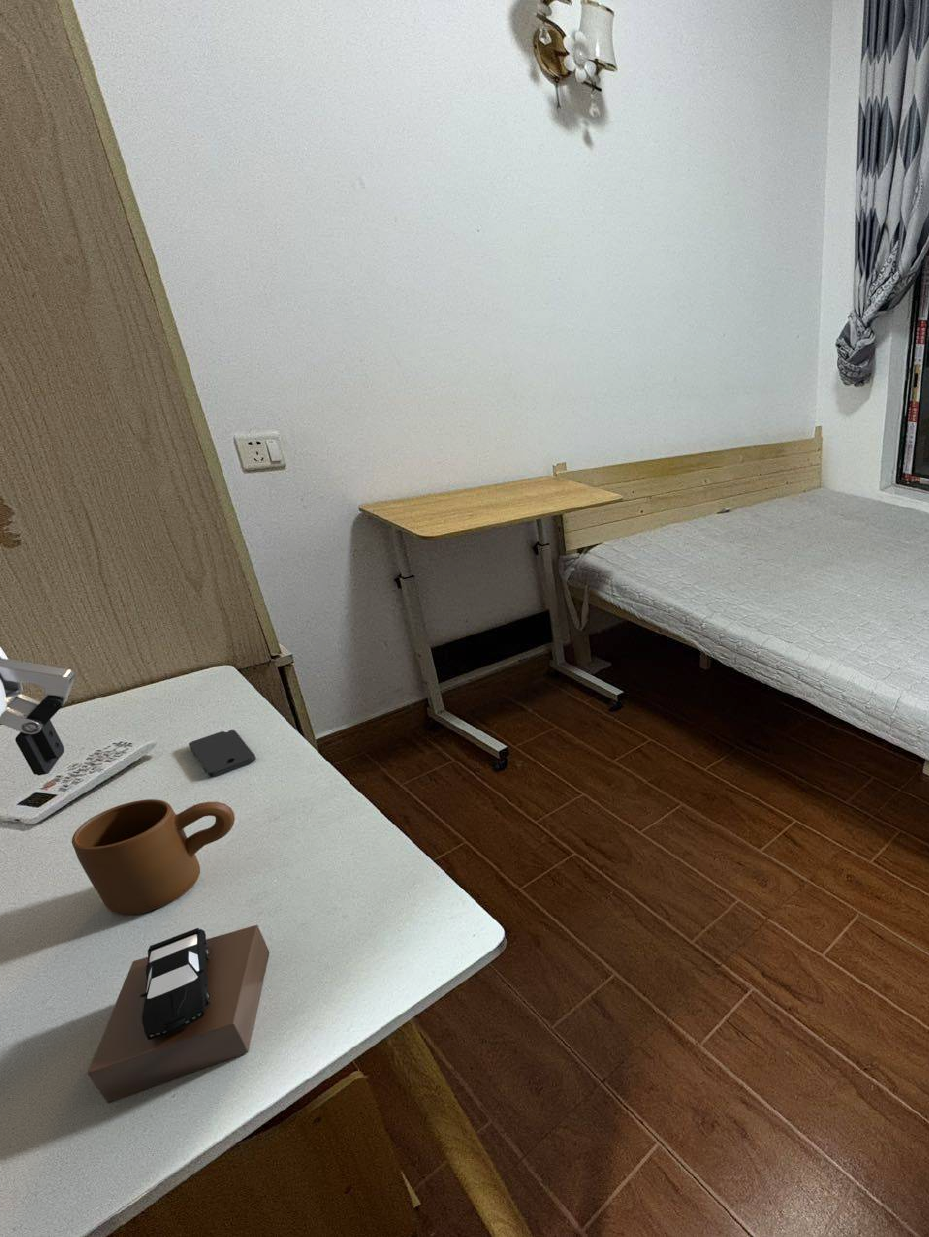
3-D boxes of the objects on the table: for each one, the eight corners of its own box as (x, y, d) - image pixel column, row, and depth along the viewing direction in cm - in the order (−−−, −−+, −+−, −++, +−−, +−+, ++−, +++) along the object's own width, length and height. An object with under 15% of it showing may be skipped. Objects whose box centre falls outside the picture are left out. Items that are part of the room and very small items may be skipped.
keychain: (232, 727, 97) (255, 756, 91) (234, 731, 97) (257, 760, 92) (187, 742, 93) (208, 773, 88) (189, 746, 93) (210, 777, 88)
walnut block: (107, 1103, 54) (86, 1073, 52) (149, 989, 62) (132, 960, 61) (248, 1052, 58) (233, 1023, 56) (269, 952, 66) (257, 924, 65)
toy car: (212, 1021, 56) (201, 1000, 55) (146, 1051, 54) (133, 1030, 53) (210, 939, 63) (201, 919, 62) (152, 962, 61) (140, 942, 59)
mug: (255, 839, 79) (229, 776, 75) (251, 882, 74) (223, 816, 70) (115, 879, 73) (79, 813, 69) (99, 930, 68) (58, 861, 63)
